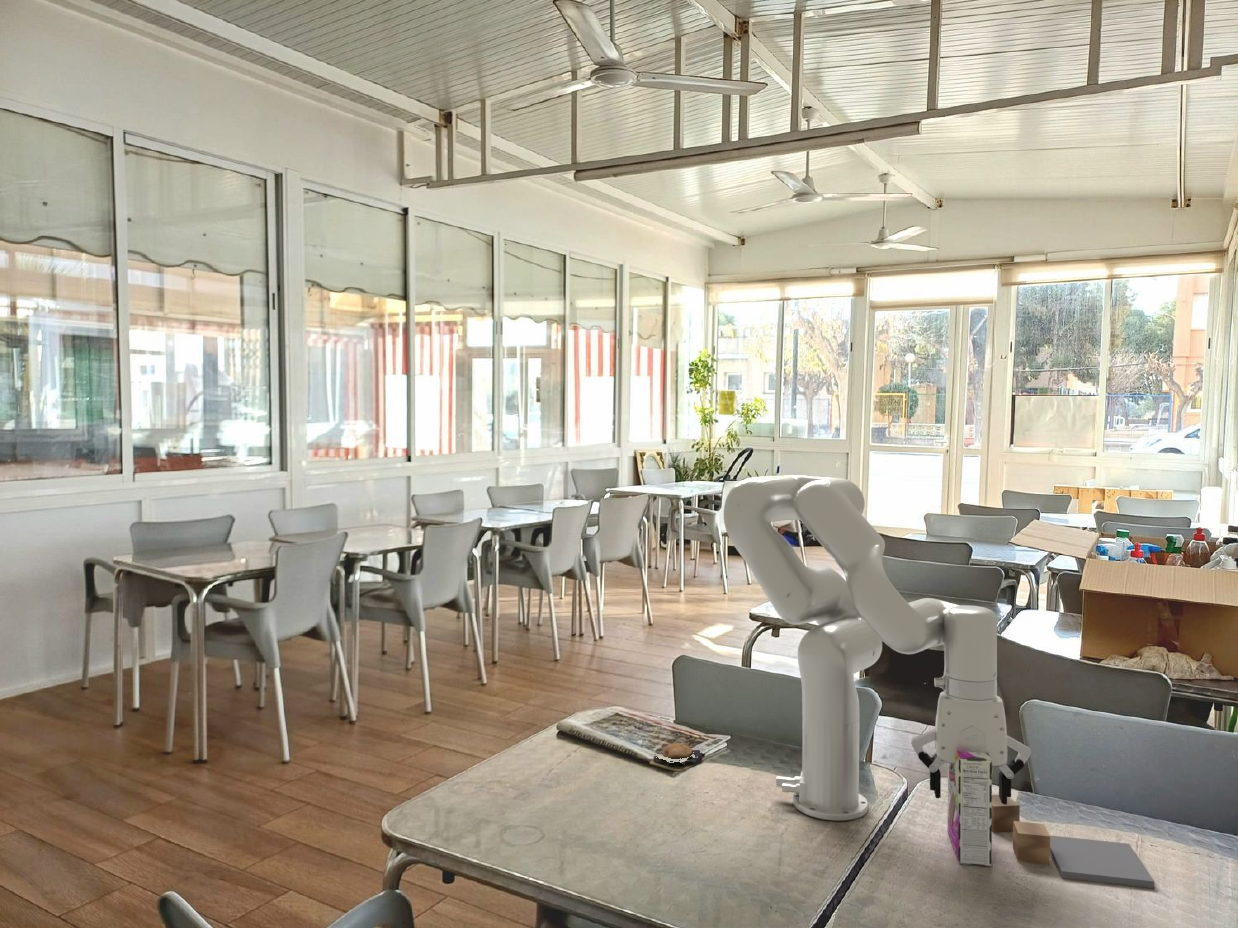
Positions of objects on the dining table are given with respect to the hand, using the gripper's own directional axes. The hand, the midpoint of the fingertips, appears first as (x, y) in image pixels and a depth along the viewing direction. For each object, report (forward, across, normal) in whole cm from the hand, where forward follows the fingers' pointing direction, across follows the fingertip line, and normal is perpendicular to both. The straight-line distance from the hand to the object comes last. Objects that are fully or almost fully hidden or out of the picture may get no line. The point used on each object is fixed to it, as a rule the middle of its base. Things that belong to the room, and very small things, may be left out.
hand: (969, 797), depth 137 cm
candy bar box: (+8, 0, 0) cm, 8 cm away
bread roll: (+8, -51, +26) cm, 58 cm away
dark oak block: (+8, +6, +10) cm, 14 cm away
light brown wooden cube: (+8, +9, 0) cm, 12 cm away
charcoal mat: (+8, +18, 0) cm, 20 cm away
